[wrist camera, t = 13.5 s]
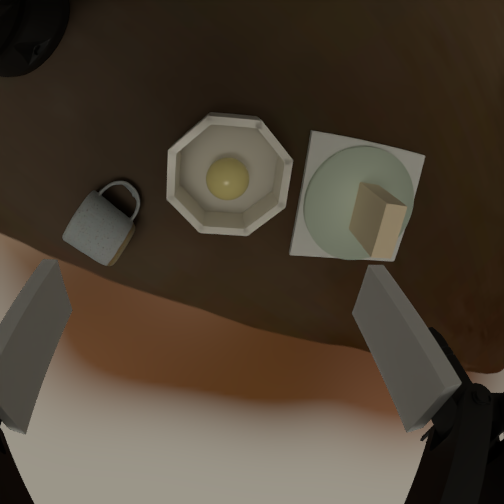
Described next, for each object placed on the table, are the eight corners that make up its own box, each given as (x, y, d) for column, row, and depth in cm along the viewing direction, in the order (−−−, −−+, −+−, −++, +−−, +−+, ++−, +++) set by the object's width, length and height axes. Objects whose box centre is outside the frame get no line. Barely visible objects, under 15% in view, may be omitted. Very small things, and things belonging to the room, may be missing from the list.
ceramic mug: (118, 253, 44) (103, 281, 37) (75, 222, 41) (54, 246, 34) (156, 199, 41) (145, 221, 34) (110, 164, 38) (89, 180, 31)
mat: (310, 130, 38) (312, 130, 37) (422, 154, 40) (425, 155, 39) (288, 252, 46) (289, 255, 46) (391, 258, 49) (393, 261, 48)
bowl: (177, 110, 35) (169, 113, 30) (288, 119, 37) (299, 125, 32) (173, 212, 42) (166, 231, 37) (273, 218, 44) (280, 238, 38)
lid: (314, 135, 37) (339, 149, 29) (421, 158, 40) (459, 177, 32) (293, 252, 46) (308, 290, 38) (392, 258, 48) (419, 291, 40)
